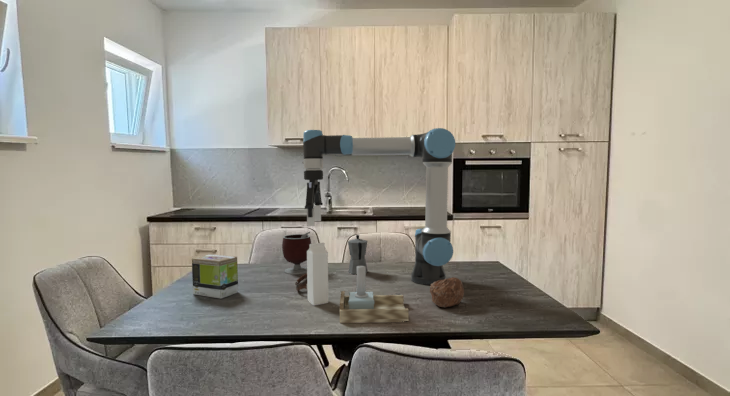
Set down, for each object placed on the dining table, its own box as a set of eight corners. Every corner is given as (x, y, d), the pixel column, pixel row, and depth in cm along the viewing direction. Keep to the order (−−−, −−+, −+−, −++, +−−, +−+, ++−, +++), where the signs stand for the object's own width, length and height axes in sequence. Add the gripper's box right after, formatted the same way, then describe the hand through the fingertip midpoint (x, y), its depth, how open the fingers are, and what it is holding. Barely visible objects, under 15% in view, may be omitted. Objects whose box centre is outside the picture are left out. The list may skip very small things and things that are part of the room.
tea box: (239, 292, 158) (238, 256, 157) (220, 299, 148) (219, 261, 147) (211, 287, 164) (210, 253, 163) (191, 294, 155) (190, 257, 154)
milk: (328, 303, 144) (328, 243, 142) (313, 305, 141) (312, 245, 139) (322, 298, 149) (321, 241, 147) (307, 300, 146) (306, 242, 145)
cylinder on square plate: (373, 305, 137) (372, 263, 136) (374, 315, 127) (374, 270, 126) (349, 305, 137) (348, 263, 136) (348, 316, 127) (348, 270, 126)
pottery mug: (321, 296, 153) (310, 279, 151) (300, 305, 155) (289, 289, 153) (326, 280, 165) (316, 264, 162) (307, 289, 167) (297, 273, 164)
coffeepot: (346, 269, 193) (346, 233, 192) (365, 268, 194) (365, 232, 193) (350, 277, 178) (350, 238, 177) (370, 276, 179) (370, 237, 178)
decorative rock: (458, 298, 147) (458, 272, 147) (471, 309, 136) (471, 280, 136) (424, 301, 145) (424, 274, 145) (435, 311, 134) (435, 283, 133)
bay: (402, 302, 144) (402, 286, 143) (409, 321, 125) (409, 303, 125) (342, 303, 143) (341, 287, 143) (339, 322, 125) (339, 304, 124)
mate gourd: (276, 272, 188) (275, 231, 187) (297, 266, 200) (296, 227, 198) (300, 277, 179) (299, 233, 178) (320, 270, 191) (319, 229, 189)
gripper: (310, 169, 167) (311, 219, 168) (296, 169, 142) (297, 227, 143) (328, 169, 166) (328, 219, 168) (316, 169, 141) (317, 227, 143)
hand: (314, 223), depth 155 cm, fingers open, 13 cm apart
